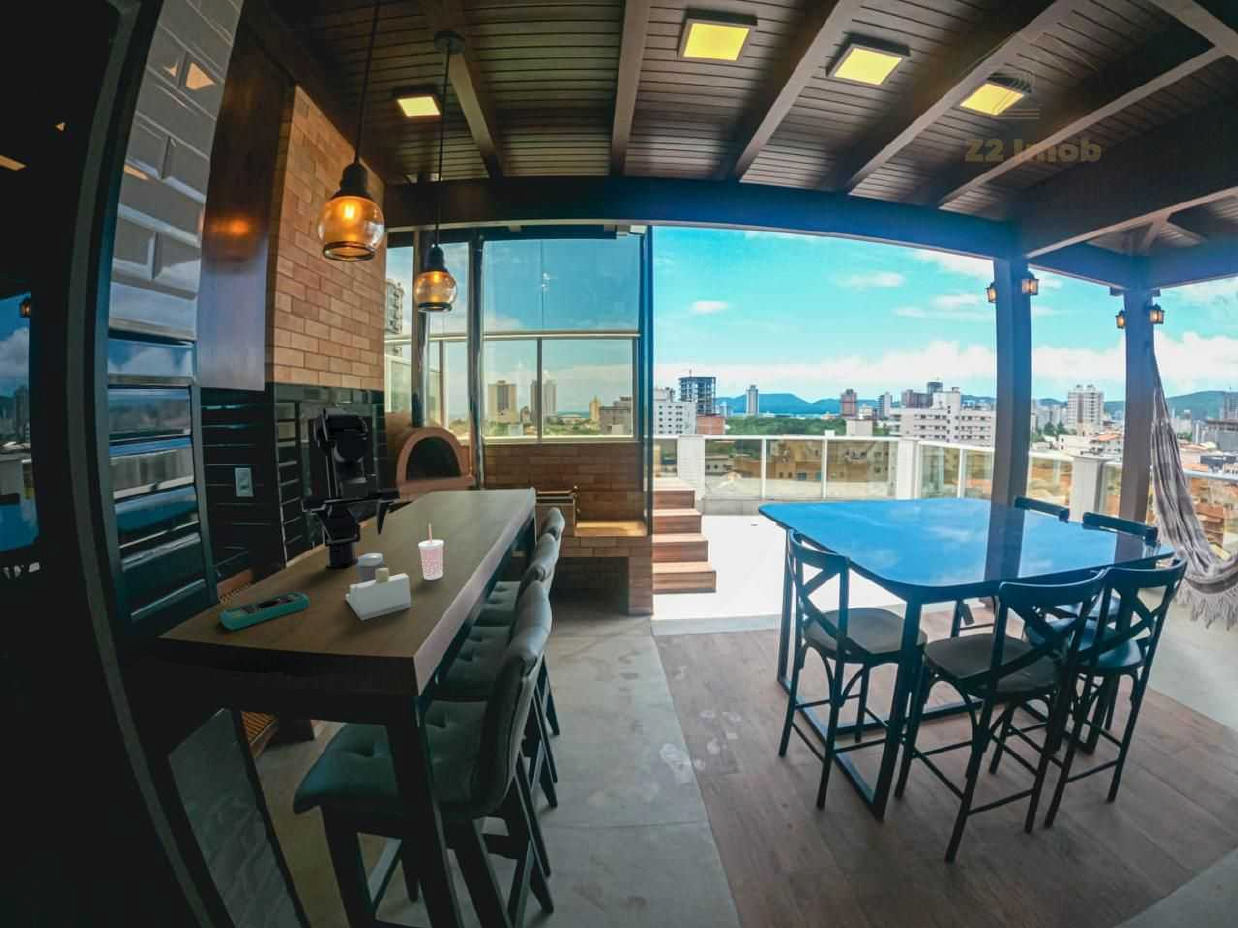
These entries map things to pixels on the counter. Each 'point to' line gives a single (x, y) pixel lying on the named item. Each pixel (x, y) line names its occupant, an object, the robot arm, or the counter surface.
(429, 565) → the beverage cup
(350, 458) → the robot arm
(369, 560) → the knob
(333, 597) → the counter surface
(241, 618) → the digital multimeter
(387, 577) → the knob mount
